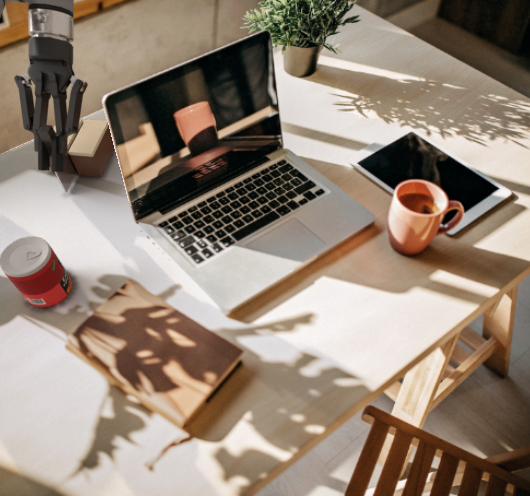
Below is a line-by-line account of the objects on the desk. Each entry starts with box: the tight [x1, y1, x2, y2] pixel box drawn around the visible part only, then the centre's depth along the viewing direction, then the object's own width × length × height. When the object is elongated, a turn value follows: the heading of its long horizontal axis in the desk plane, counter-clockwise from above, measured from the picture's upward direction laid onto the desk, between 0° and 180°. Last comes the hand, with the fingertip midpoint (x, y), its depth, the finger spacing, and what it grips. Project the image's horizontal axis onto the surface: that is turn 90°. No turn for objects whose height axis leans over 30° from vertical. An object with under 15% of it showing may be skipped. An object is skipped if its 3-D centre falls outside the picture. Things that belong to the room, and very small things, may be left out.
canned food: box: [0, 235, 73, 309], centre depth 83 cm, size 8×8×11 cm
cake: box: [50, 118, 115, 178], centre depth 104 cm, size 10×11×7 cm
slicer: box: [38, 124, 78, 194], centre depth 96 cm, size 6×2×14 cm, turn 172°
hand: (50, 170), depth 94 cm, fingers closed on slicer, 2 cm apart
